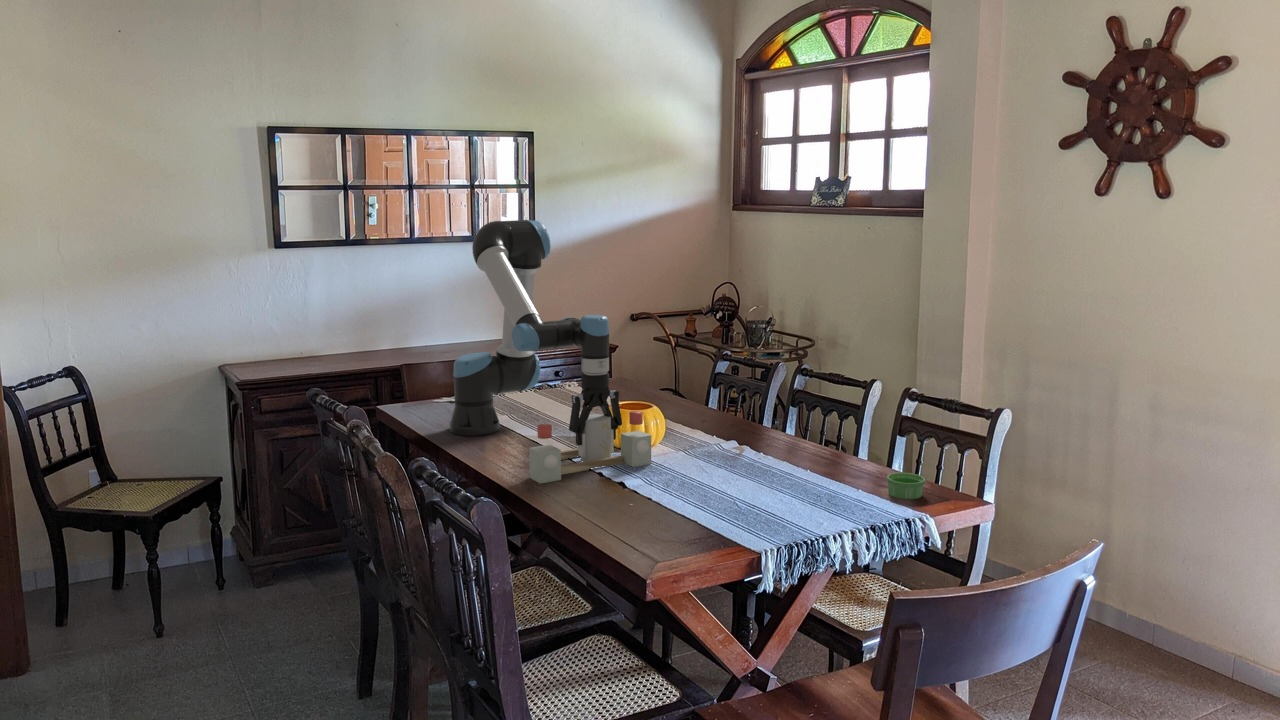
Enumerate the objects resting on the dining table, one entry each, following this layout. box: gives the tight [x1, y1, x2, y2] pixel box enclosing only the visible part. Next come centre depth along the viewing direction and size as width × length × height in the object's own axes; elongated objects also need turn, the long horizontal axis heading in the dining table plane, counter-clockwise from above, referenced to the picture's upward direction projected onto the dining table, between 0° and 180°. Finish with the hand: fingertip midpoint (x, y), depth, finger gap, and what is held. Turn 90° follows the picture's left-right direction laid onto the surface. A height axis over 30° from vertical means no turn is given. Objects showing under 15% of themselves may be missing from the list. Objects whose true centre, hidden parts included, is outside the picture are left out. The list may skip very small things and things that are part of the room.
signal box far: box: [620, 430, 652, 468], centre depth 272 cm, size 6×6×8 cm
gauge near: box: [536, 423, 553, 440], centre depth 256 cm, size 4×4×3 cm
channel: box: [561, 448, 624, 476], centre depth 273 cm, size 14×19×2 cm
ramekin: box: [886, 472, 926, 500], centre depth 245 cm, size 9×9×4 cm
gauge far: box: [628, 410, 644, 426], centre depth 271 cm, size 4×4×3 cm
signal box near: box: [528, 444, 562, 484], centre depth 258 cm, size 6×6×8 cm
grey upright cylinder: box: [580, 413, 612, 462], centre depth 275 cm, size 8×8×12 cm
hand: (596, 453), depth 275 cm, fingers closed on grey upright cylinder, 8 cm apart
